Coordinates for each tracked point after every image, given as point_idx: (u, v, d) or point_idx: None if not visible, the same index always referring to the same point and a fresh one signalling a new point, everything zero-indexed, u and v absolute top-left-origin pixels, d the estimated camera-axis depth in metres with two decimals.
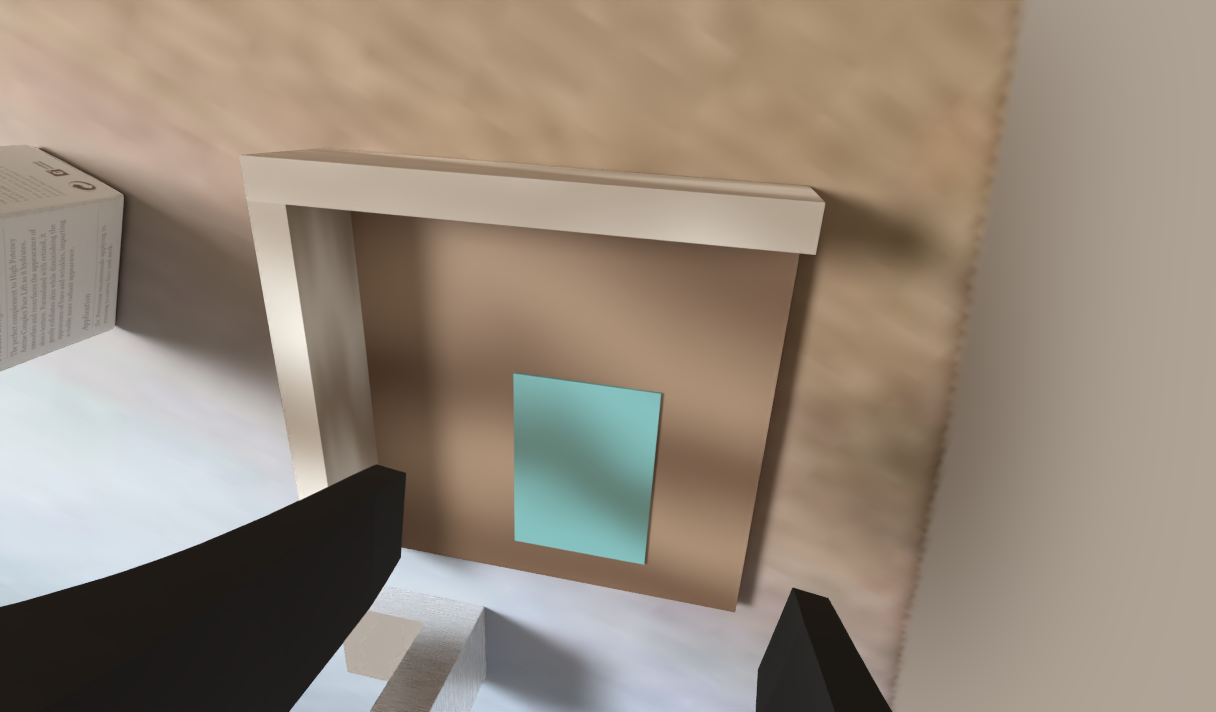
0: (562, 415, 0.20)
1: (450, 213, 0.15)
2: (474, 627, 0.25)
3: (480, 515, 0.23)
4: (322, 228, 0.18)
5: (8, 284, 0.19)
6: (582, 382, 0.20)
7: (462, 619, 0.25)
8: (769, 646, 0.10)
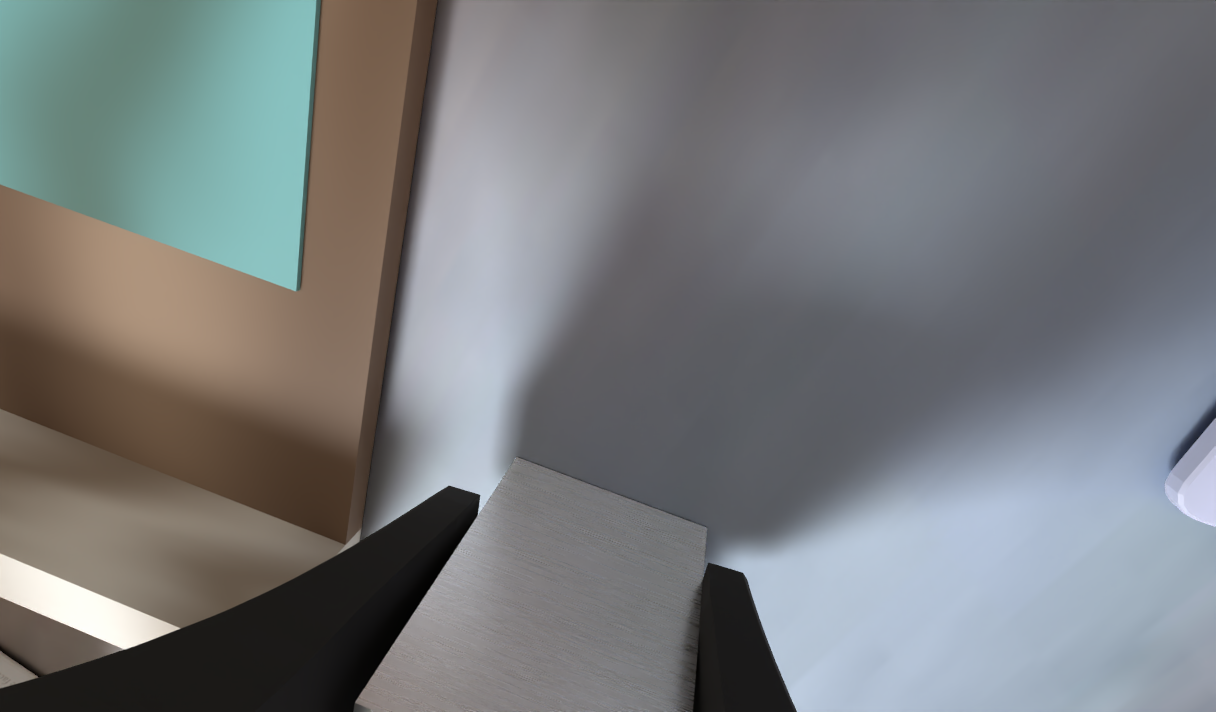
0: (18, 97, 0.10)
1: None
2: (500, 491, 0.11)
3: (256, 341, 0.11)
4: None
5: None
6: None
7: None
8: None
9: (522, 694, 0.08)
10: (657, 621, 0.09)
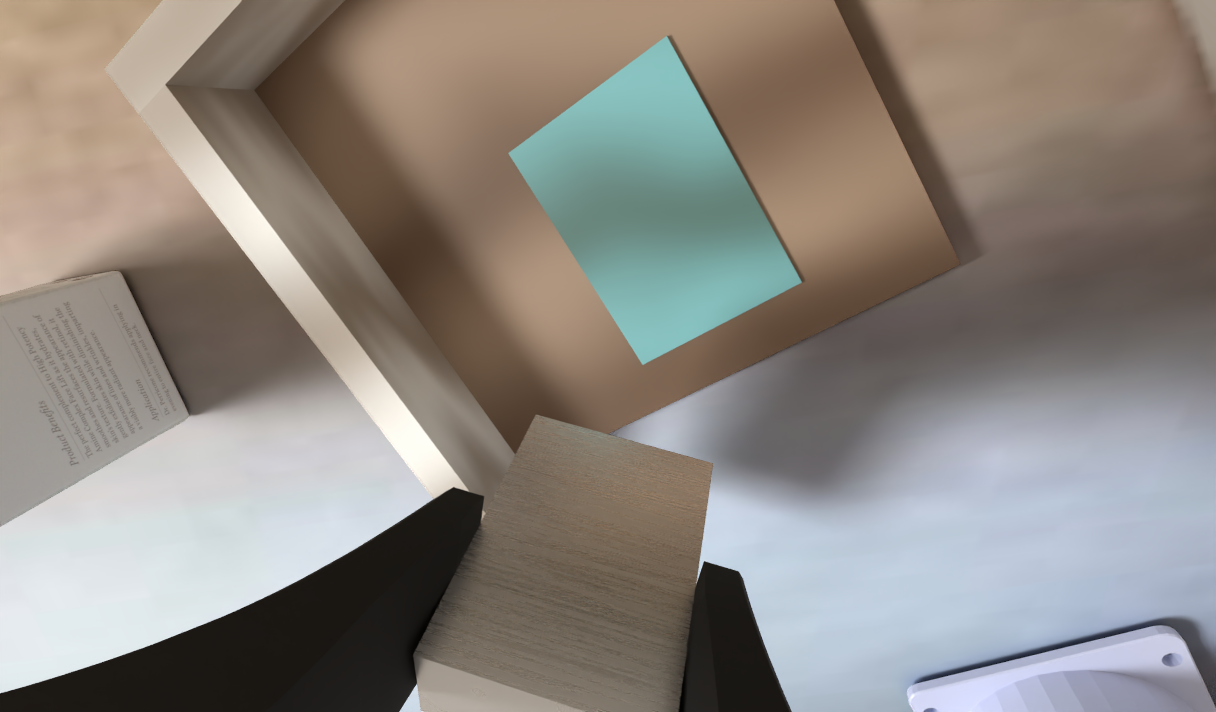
0: (587, 163, 0.16)
1: None
2: (522, 451, 0.12)
3: (590, 361, 0.18)
4: (235, 118, 0.16)
5: (40, 376, 0.18)
6: (579, 101, 0.15)
7: None
8: None
9: (544, 635, 0.09)
10: (661, 561, 0.11)
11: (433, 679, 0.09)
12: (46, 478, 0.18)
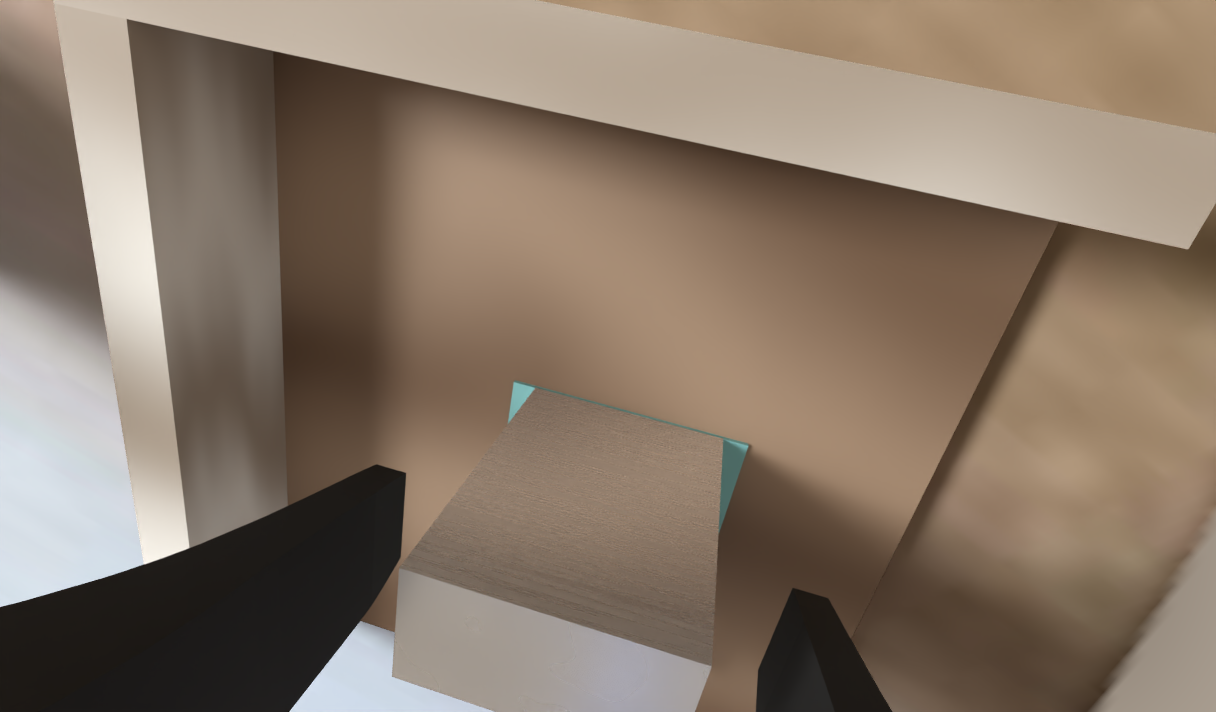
0: None
1: (447, 74, 0.08)
2: (522, 413, 0.11)
3: None
4: (212, 91, 0.10)
5: None
6: (623, 410, 0.12)
7: None
8: (769, 646, 0.10)
9: (552, 562, 0.08)
10: (679, 509, 0.10)
11: (417, 611, 0.08)
12: None
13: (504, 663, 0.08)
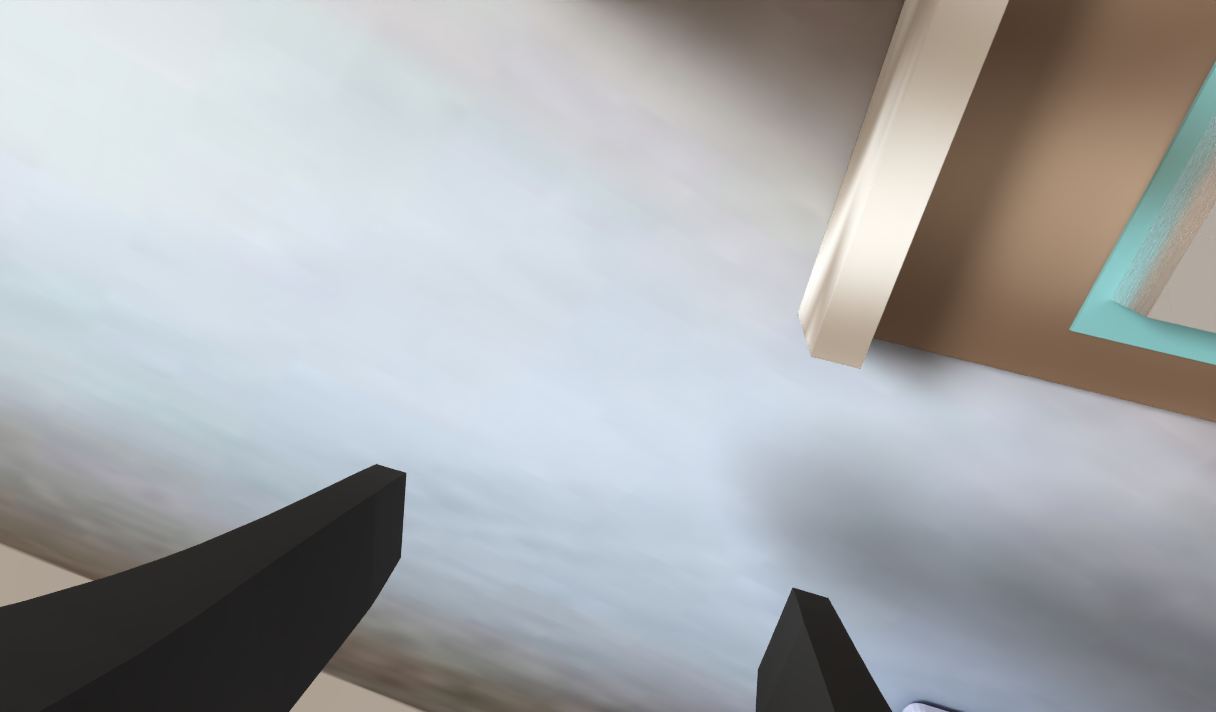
0: None
1: None
2: None
3: (1029, 287, 0.16)
4: None
5: None
6: None
7: None
8: (769, 646, 0.10)
9: None
10: None
11: None
12: None
13: None
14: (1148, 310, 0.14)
